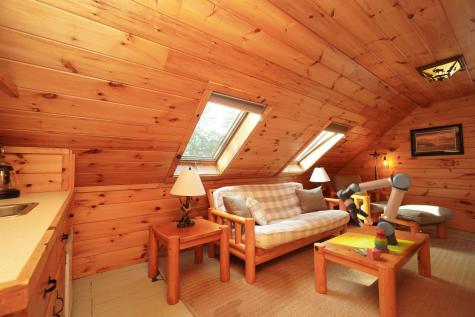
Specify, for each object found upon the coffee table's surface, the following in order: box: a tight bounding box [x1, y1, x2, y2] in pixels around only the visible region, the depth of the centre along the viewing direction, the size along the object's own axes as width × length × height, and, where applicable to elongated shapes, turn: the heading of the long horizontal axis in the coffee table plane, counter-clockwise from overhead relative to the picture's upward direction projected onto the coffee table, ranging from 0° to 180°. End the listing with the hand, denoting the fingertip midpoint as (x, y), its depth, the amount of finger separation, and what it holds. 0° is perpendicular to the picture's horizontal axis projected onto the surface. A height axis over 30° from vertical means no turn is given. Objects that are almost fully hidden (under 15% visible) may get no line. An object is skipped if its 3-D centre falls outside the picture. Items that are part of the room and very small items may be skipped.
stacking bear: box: [373, 228, 391, 254], centre depth 181 cm, size 11×10×18 cm
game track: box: [351, 247, 382, 257], centre depth 178 cm, size 15×13×1 cm
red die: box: [366, 247, 381, 261], centre depth 167 cm, size 6×6×6 cm
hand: (367, 224), depth 190 cm, fingers open, 13 cm apart
